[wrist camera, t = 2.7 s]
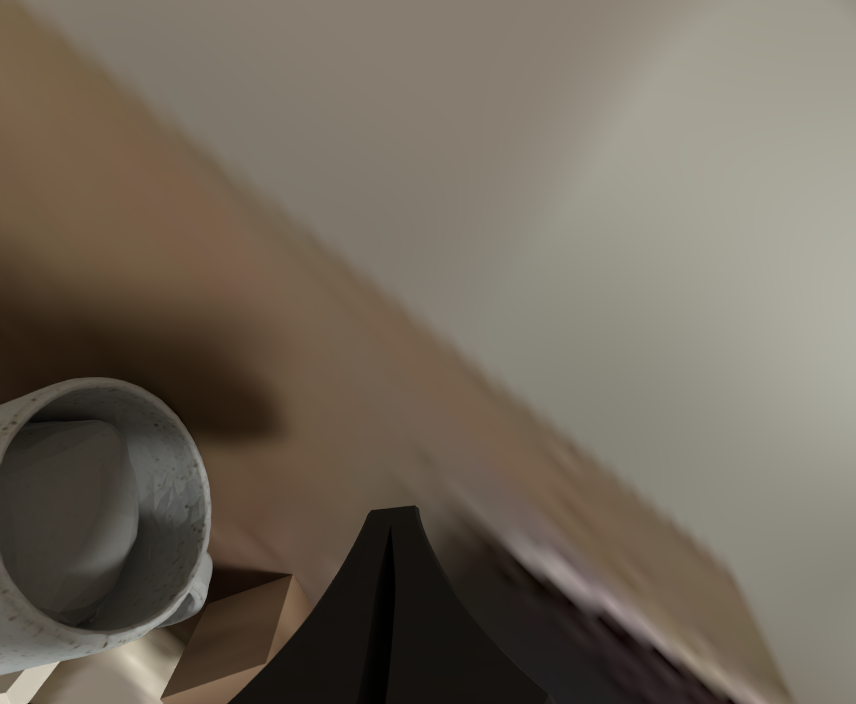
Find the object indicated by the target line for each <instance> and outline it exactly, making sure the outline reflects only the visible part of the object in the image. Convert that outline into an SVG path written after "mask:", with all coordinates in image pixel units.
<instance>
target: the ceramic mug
mask: <svg viewBox="0 0 856 704" xmlns="http://www.w3.org/2000/svg"><path fill="white" fill-rule="evenodd" d="M211 508H212V505H211V498H210V488H209V481H208V477H207V474H206V470H205V467H204V464H203V460H202V457H201V455H200V453H199V451H198V449H197V447H196V444H195V442H194V440H193V438H192V436H191V435H190V433H189V432H188V430H187V428H186V427H185V425H184V424H183V423H182V422H181V420H180V419H179V417H178V416H177V415H176V414H175V413H174V412H173V411H172V410H171V409H170V408H169V407H168V406H167V405H166V404H165V403H164V402H163V401H162V400H161V399H159V398H158V397H156V396H155V395H153V394H151V393H150V392H148V391H147V390H145V389H143V388H142V387H140V386H137V385H134V384H132V383H129V382H126V381H123V380H118V379H113V378H103V377H87V378H74V379H70V380H66V381H63V382H59V383H56V384H53V385H50V386H47V387H45V388H42V389H39V390H37V391H34V392H32V393H29V394H27V395H25V396H22V397H20V398H17V399H14V400H12V401H9V402H6V403H4V404H1V405H0V675H4V674H8V673H12V672H17V671H21V670H25V669H29V668H33V667H38V666H42V665H46V664H50V663H55V662H60V661H64V660H69V659H73V658H78V657H82V656H87V655H92V654H95V653H98V652H102V651H105V650H109V649H112V648H115V647H119V646H121V645H123V644H126V643H128V642H131V641H133V640H136V639H138V638H141V637H142V636H143V635H145V634H146V633H147V632H149V631H150V630H151V629H157V628H161V627H165V626H169V625H173V624H176V623H179V622H182V621H184V620H186V619H188V618H190V617H192V616H194V615H195V614H197V613H198V612H199V611H200V609H201V608H202V607H203V605H204V602H205V600H206V597H207V593H208V587H209V583H210V579H211V575H212V568H213V566H212V559H211V556H210V555H209V553H208V552H207V547H208V543H209V533H210V529H211Z"/></svg>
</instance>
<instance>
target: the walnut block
mask: <svg viewBox="0 0 856 704" xmlns="http://www.w3.org/2000/svg"><path fill="white" fill-rule="evenodd" d="M312 610H313V608H312V606H311V604H310V603H309V601H308V599H307V597H306V596H305V594H304V592H303V591H302V589H301V587H300V586H299V584H298V582H297V581H296V579H295V577H294V575H293V574H292V575H290V576H287V577H284V578H281V579H278V580H275V581H272V582H270V583H267V584H264V585H261V586H258V587H255V588H252V589H249V590H247V591H244V592H241V593H238V594H235V595H232V596H229V597H226V598H224V599H221V600H218V601H215V602H212V603H209V604H207V606H206V608H205V610H204V612H203V614H202V616H201V618H200V620H199V622H198V624H197V626H196V628H195V630H194V632H193V634H192V636H191V638H190V640H189V642H188V644H187V646H186V648H185V650H184V652H183V654H182V656H181V658H180V660H179V662H178V664H177V666H176V668H175V670H174V672H173V674H172V676H171V678H170V680H169V682H168V684H167V686H166V688H165V690H164V692H163V694H162V696H161V698H160V700H161V701H162V702H163V703H164V704H227V703H228V702H229V701H230V700H231V699H232V698H234V697H235V696H236V695H237V694H238V693H239V692H240V691H241V690H242V689H243V688H244V687H245V686H246V685H247V684H248V683H249V682H250V681H251V680H252V679H253V678H254V677H255V676H256V675H257V674H258V673H259V672H260V671H261V670H262V669H263V668H264V667H265V666H266V665H267V664H268V663H269V662H270V661H271V660H272V659H273V657H274V656H275V655H276V654H277V653H278V652H279V651H280V650H281V649H282V647H283V646H284V645H285V644H286V643H287V641H288V640H289V639H290V638H291V637H292V636H293V634H294V633H295V632H296V631H297V630H298V628H299V627H300V626H301V625H302V623H303V622H304V621H305V619H306V618H307V617H308V616H309V614H310V613H311V612H312Z"/></svg>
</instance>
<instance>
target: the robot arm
mask: <svg viewBox="0 0 856 704" xmlns="http://www.w3.org/2000/svg"><path fill="white" fill-rule="evenodd" d="M227 704H556V703H555V701H554V700H553V698H552V696H551V695H550V694H549V693H548V692H547V691H546V690H544V689H543V688H542V687H541V686H540V685H539V684H538V683H537V682H535V681H534V680H533V679H532V678H531V677H530V676H529V675H528V674H527V673H526V672H525V671H524V670H523V669H521V668H520V667H519V666H518V665H517V664H516V663H515V662H514V661H513V660H512V659H511V657H510V656H509V655H508V654H507V653H506V652H505V651H504V650H503V649H502V648H501V647H500V646H499V645H498V644H497V642H496V641H495V640H494V639H493V638H492V637H491V636H490V634H489V633H488V632H487V631H486V630H485V629H484V628H483V626H482V625H481V624H480V623H479V622H478V620H477V619H476V618H475V616H474V615H473V614H472V613H471V611H470V610H469V609H468V607H467V606H466V605H465V603H464V602H463V600H462V599H461V597H460V596H459V595H458V593H457V592H456V590H455V589H454V587H453V585H452V584H451V582H450V581H449V579H448V577H447V576H446V574H445V572H444V570H443V569H442V567H441V565H440V563H439V561H438V560H437V557H436V555H435V553H434V551H433V549H432V547H431V545H430V543H429V541H428V539H427V536H426V534H425V531H424V528H423V525H422V522H421V519H420V513H419V508H417V507H416V506H415V505H414V506H405V507H397V508H388V509H379V510H371V511H370V513H369V514H368V515H367V518H366V520H365V523H364V525H363V527H362V529H361V531H360V533H359V535H358V537H357V539H356V541H355V543H354V545H353V547H352V549H351V551H350V552H349V554H348V556H347V558H346V559H345V561H344V563H343V565H342V567H341V568H340V570H339V572H338V573H337V575H336V576H335V578H334V579H333V581H332V582H331V584H330V586H329V587H328V589H327V590H326V592H325V593H324V595H323V596H322V598H321V599H320V601H319V602H318V603H317V605H316V606H315V608H314V609H313V610H312V612H311V613H310V614H309V616H308V617H307V618H306V619H305V621H304V622H303V623H302V625H301V626H300V627H299V628H298V630H297V631H296V632H295V633H294V634H293V636H292V637H291V638H290V639H289V640H288V641H287V643H286V644H285V645H284V646H283V647H282V649H281V650H280V651H279V652H278V653H277V654H276V655H275V656H274V657H273V659H272V660H271V661H270V662H269V663H268V664H267V665H266V666H265V667H264V668H263V669H262V670H261V671H260V672H259V673H258V674H257V675H256V676H255V677H254V678H253V679H252V680H251V681H250V682H249V683H248V684H247V685H246V686H245V687H244V688H243V689H242V690H241V691H240V692H239V693H238V694H237V695H236V696H235V697H234V698H232V699H231V700H230V701H229V702H228V703H227Z"/></svg>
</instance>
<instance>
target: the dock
mask: <svg viewBox="0 0 856 704" xmlns="http://www.w3.org/2000/svg"><path fill="white" fill-rule="evenodd" d="M58 663H59V662H55V663H50V664H46V665H42V666H38V667H33V668H29V669H25V670H21V671H17V672H12V673H8V674H4V675H0V704H28V702H29V701H30V700H31V698H32V697H33V696H34V695H35V693H36V692H37V691H38V689H39V688H40V687H41V685H42V684H43V683H44V681H45V680H46V679H47V678H48V676H49V675H50V674H51V672H52V671H53V670H54V668H55V667H56V666H57V664H58Z"/></svg>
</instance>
